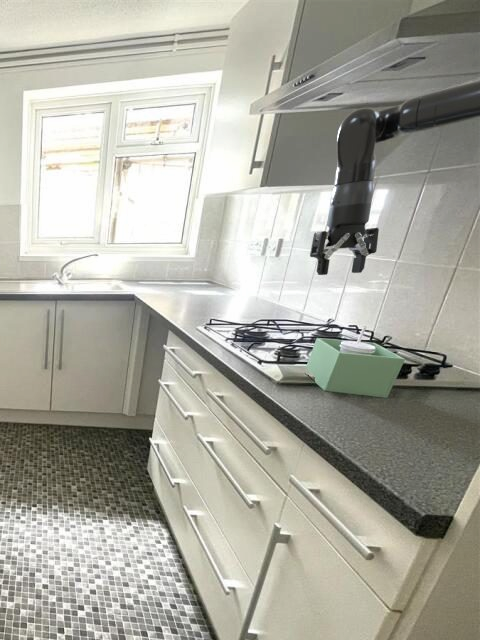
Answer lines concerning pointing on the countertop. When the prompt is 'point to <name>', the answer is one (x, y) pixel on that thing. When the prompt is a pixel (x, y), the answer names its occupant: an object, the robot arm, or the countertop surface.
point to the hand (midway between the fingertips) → (339, 273)
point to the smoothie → (357, 346)
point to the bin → (353, 369)
